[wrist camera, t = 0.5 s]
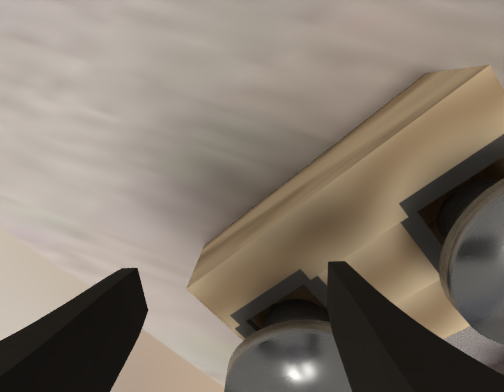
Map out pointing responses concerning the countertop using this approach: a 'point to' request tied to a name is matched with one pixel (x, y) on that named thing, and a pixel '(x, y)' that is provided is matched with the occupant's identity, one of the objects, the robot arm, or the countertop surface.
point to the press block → (364, 209)
